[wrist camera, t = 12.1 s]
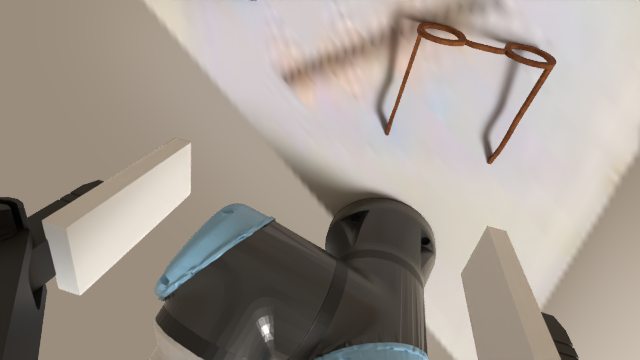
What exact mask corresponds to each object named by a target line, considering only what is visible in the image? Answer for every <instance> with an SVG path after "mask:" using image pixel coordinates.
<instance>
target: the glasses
mask: <svg viewBox="0 0 640 360" xmlns="http://www.w3.org/2000/svg"><path fill="white" fill-rule="evenodd" d="M427 28H432V29H438V30H443V31H446V32H449V33H451V34H453V35H455V36H456V37H458V39H459V40H449V39H444V38H440V37H436V36H434V35H431V34H429V33H427V32H426V31H425V30H424V29H427ZM417 32H418V37H417V40H416V43H415V46H414V49H413V52H412V55H411V58H410V61H409V64H408V67H407V70H406V73H405V76H404V79H403V82H402V85H401V88H400V91H399V94H398V97H397V100H396V103H395V106H394V108H393V111H392V114H391V116H390V119H389V122H388V125H387V129H386V133H385V135H388V134H389V132H390V129H391V126H392V122H393V119H394V116H395V113H396V110H397V107H398V105H399V102H400V99H401V96H402V93H403V90H404V87H405V84H406V82H407V79H408V76H409V73H410V70H411V67H412V64H413V61H414V58H415V55H416V52H417V49H418V46H419V44H420V41H421V38H422V37H423V38H425V39H427V40H430V41H432V42H435V43H439V44H443V45H448V46H464V45H467V46H469V47H472V48H475V49H479V50H483V51H487V52H491V53H495V54H505V55H506V56H507V57H509V58H511V59H513V60H515V61H517V62H520V63H522V64H525V65H529V66H532V67H537V68H543V69H545V70H544V71H543V73H542V75H541V76H540V78H539V79H538V81H537V83H536V84H535V86H534V88H533V89H532V91H531V92H530V94H529V96H528V97H527V99H526V101H525V102H524V104H523V105H522V107H521V109H520V110H519V112H518V114H517V115H516V117H515V118H514V120H513V122H512V124H511V126H510V128H509V130H508V131H507V133H506V135H505V137H504V138H503V140H502V142H501V144H500V145H499V147H498V148H497V149H496V151H495V152H494V153H493V154H492V156H491V157H490V159H489V161H488V164H491V163H492V162H493V161H494V160H495V159H496V157H497V156H498V155H499V154H500V152H501V151H502V150H503V148H504V146H505V145H506V143H507V142H508V140H509V139H510V137H511V135H512V133H513V132H514V130H515V128H516V126H517V124H518V123H519V121H520V120H521V118H522V116H523V115H524V113H525V112H526V110H527V108H528V107H529V105H530V104H531V102H532V101H533V99H534V97H535V96H536V94H537V93H538V91H539V89H540V88H541V86H542V85H543V83H544V81H545V80H546V78H547V77H548V75H549V74H550V72H551V70H552V69H553V67H554V66H555V64H556V60H555V58H554V57H553V56H551V55H550V54H548V53H547V52H545V51H543V50H540V49H538V48H535V47H532V46H528V45H523V44H519V43H507V44H506V46H505V48H504V49H501V48H496V47H492V46H488V45H484V44H480V43H476V42H472V41H469V40H467V39H466V37H465V35H464V34H463V33H462V32H460V31H458V30H456V29H454V28H451V27H448V26H445V25H440V24H436V23H421V24H419V26H418V29H417ZM511 49H521V50H525V51H529V52H532V53H535V54H537V55H539V56H541V57H543V58H544V59H545V60H546V61H547V62H538V61H533V60H530V59H527V58H524V57H521V56H519V55H517V54H516V53H514V52H513V51H512V50H511Z"/></svg>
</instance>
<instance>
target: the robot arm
mask: <svg viewBox="0 0 640 360" xmlns="http://www.w3.org/2000/svg"><path fill="white" fill-rule="evenodd" d="M190 193H191V142H189V141H185V140H182V139H178V138H174V139H172V140H171V141H169V142H168V143H166V144H164V145H163V146H162V147H160V148H158V149H156V150H155V151H153V152H152V153H150V154H148V155H147V156H145V157H144V158H142V159H141V160H139V161H137V162H135V163H134V164H132V165H131V166H129V167H127V168H126V169H124V170H122V171H121V172H119V173H118V174H116V175H114V176H113V177H111V178H110V179H108V180H106V181H105V182H104V181H100V180H97V181H94V182H91V183H88V184H85V185H82V186H80V187H79V188H77V189H76V190H74V191H72V192H71V193H70V194H67V195H65V196H64V197H62V198H61V199H60V200H57V201H55V202H53V203H52V204H50V205H48V206H47V207H45V208H43V209H41V210H40V211H38V212H36V213H35V214H33V215H32V216H30V217H28V218H27V216H26V212H25V208H24V205H23V203H22V202H21V201H20V200H18V199H15V198H10V197H0V360H38V354H39V347H40V339H41V332H42V324H43V316H44V309H45V302H46V295H47V289H46V284H45V283H47V282H48V281H49V280H50V279H52V278H53V277H54V276H56V280H57V284H58V287H59V289H62V290H65V291H68V292H71V293H74V294H77V295H82V293H84V292H85V291H86V290H87V289H88V288H89V287H90V286H91V285H92V284H93V283H94V282H95V281H97V280H98V279H99V278H100V277H101V276H102V275H103V274H104V273H105V272H106V271H107V270H109V269H110V268H111V266H113V265H114V264H115V263H116V262H117V261H118V260H119V259H120V258H121V257H123V256H124V255H125V254H126V253H127V252H128V251H129V250H130V249H131V248H132V247H133V246H135V245H136V244H137V243H138V242H139V241H140V240H141V239H142V238H143V237H144V236H145V235H146V234H147V233H148V232H150V231H151V230H152V229H153V228H154V227H155V226H156V225H157V224H158V223H159V222H160V221H161V220H163V219H164V218H165V217H166V216H167V215H168V214H169V213H170V212H171V211H172V210H173V209H175V208H176V207H177V206H178V205H179V204H180V203H181V202H182V201H183V200H184V199H185V198H186V197H187V196H188V195H190ZM325 249H326V251H325V250H324V249H322V248H320V247H318V246H317V245H315V244H313V243H311V242H310V241H308V240H306V239H304V238H303V237H301V236H299V235H297V234H296V233H294V232H292V231H291V230H289V229H287V228H285V227H283V226H282V225H280V224H279V223H277V222H276V221H275V218H273V217H268V216H266V215H264V214H261V213H260V212H258V211H256V210H254V209H252V208H250V207H248V206H246V205H244V204H232V205H228V206H226V207H224V208H223V209H221V210H220V211H218V212H217V213H216V214H215V215H214V216H212V217H211V218H210V219H209V220H208V221H207V222H206V223H205V224H204V225H203V226H202V227H201V228H200V229H199V230H198V231H197V232H196V233H195V234H194V235H193V236H192V237H191V239H190V240H189V241H188V242H187V243H186V244H185V245H184V246H183V248H182V249H181V250H180V251H179V252H178V254H177V255H176V256H175V257H174V259H173V260H172V261H171V262H170V264H169V265H168V267H167V268H166V270H165V272H164V274H163V275H162V276H161V278H160V279H159V280H158V282H157V284H156V286H155V294H156V295H157V296H158V299H159V300H161V301H165V304H164V305H163V307H162V308H161V310H160V312H159V313H158V315H157V316H156V318H155V319H154V321H153V325H154V329H155V335H156V339H157V345H156V348H155V350H154V351H153V353H152V355H151V356H150V358H149V359H148V360H428V355H427V339H426V322H425V305H424V287H425V285H426V282H427V280H428V278H429V276H430V273H431V271H432V269H433V266H434V263H435V258H436V248H435V238H434V234H433V232H432V229H431V227H430V225H429V224H428V222H427V221H426V220H425V219H424V218H423V216H421V215H420V214H419V213H418V212H417V211H415V210H414V209H413V208H411V207H409V206H407V205H405V204H403V203H400V202H398V201H394V200H390V199H383V198H370V199H364V200H359V201H356V202H354V203H351V204H349V205H347V206H346V207H344V208H343V209H342V210H340V211H339V212H338V213H337V214H336V216H335V217H334V218H333V220H332V222H331V224H330V227H329V230H328V233H327V236H326V243H325ZM461 277H462V282H463V287H464V292H465V297H466V302H467V307H468V312H469V317H470V322H471V327H472V332H473V336H474V341H475V346H476V351H477V356H478V360H578V358H579V357H578V355H577V353H576V351H575V349H574V348H572V346H573V345H572V343H571V341H570V339H569V337H568V334H567V332H566V330H565V329H564V328H563V327H562V326H561V325H560V323H559V322H558V321H557V320H556V319H555V318H554V316H552V315H548V314H545V313H542V312H541V311H540V309H539V307H538V304H537V302H536V300H535V297H534V295H533V293H532V290H531V288H530V286H529V283H528V281H527V279H526V276H525V274H524V272H523V269H522V267H521V265H520V262H519V260H518V258H517V255H516V253H515V251H514V248H513V246H512V244H511V241H510V239H509V237H508V234H507V232H506V231H503V230H500V229H496V228H492V227H489V226H487V228H486V230H485V231H484V233H483V235H482V237H481V239H480V240H479V242H478V244H477V246H476V248H475V250H474V251H473V253H472V255H471V257H470V259H469V260H468V262H467V264H466V266H465V268H464V270H463V271H462V273H461Z"/></svg>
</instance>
